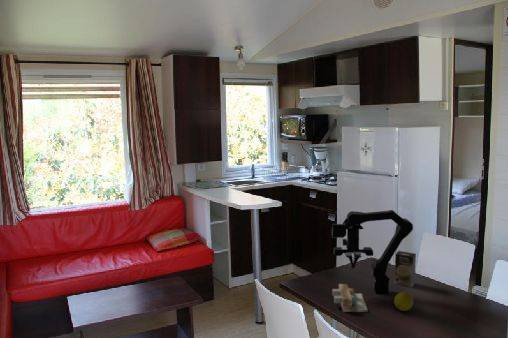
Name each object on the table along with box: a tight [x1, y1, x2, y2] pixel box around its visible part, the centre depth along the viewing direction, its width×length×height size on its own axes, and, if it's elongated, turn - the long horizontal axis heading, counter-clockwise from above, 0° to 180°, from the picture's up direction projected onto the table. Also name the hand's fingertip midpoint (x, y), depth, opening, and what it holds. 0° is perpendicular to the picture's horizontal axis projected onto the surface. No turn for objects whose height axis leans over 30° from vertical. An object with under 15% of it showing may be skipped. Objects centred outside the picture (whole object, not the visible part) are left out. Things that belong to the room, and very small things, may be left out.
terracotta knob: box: [331, 287, 355, 297], centre depth 213 cm, size 10×4×5 cm, turn 85°
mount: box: [338, 283, 369, 313], centre depth 209 cm, size 11×18×6 cm, turn 175°
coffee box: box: [394, 250, 417, 288], centre depth 230 cm, size 9×6×16 cm
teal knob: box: [333, 294, 357, 305], centre depth 205 cm, size 10×4×5 cm, turn 85°
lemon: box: [393, 291, 414, 312], centre depth 201 cm, size 11×8×8 cm
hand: (353, 268), depth 221 cm, fingers closed
